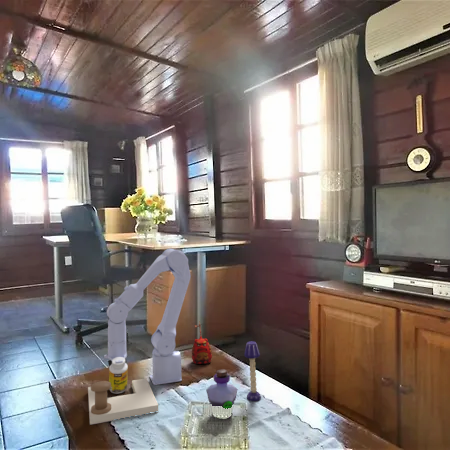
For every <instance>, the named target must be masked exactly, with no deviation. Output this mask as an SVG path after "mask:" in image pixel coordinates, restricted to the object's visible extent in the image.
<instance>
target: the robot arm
mask: <svg viewBox="0 0 450 450" xmlns="http://www.w3.org/2000/svg"><path fill="white" fill-rule="evenodd" d="M168 271H170V272H171V273H172V275H173V277H174V280H173V283H172V286H171V290H170V293H169V297H168V300H167V302H166V305H165V309H164V312H163V315H162V318H161V321H160V323H159V324H158V325H157V327H156V330H155V331H154V333H153V334H152V335H151V337H150V338H151V339H150V342H151V344H152V346H153V347H154V348H153V350H152V352H151V353H152V354H151V356H152V357H151V359H152V363H151V364H152V374H150V375H149V378H150V381H151V382H152V384H153V386H158V385H164V384H170V383H176V382H181V381H183V380H182V379H183V378H182V356H181V352H180V351H179V350H175V349H176V338H177V337H176V336H177V323H178V321H179V316H180V313H181V310H182V307H183V304H184V300H185V298H186V297H185V296H186V294H187V291H188V288H189V284H190V282H191V278H192V277H191V276H192V275H191V270H190V267H189V258H188V256H187V255H186V254H185V253H184V251H182V250H180V249H173V248H167V249H165V250H164V251H162V254H160V255H159V256H157V257H156V259H155V260H154V261H153V262H152V263H151V265H150V266H149V267H148V269H146V271H145V272H144V274H142V276H141V277H140V278H139V280H138V281H137V282H136V283H131V284H129V285H128V286H127V285H126V286H125V287H124V288H123V289H124V291H123V292H122V293H121V294H120V295H119V296H118V297H117V298H114V300H113V301H114V302H113V303H110V304H109V306H107V310H106V315H107V317H108V321H107V325H108V327H107V354H104V355H103V358H104V360H105V359H106V360H107V359H108V361H107V362H108V363H107V364H108V366H109V367H110V365H111V364H112V360H113V359H114V358H116V357H123V358H124V359H125V363H126V364H127V363H128V362H127V356H128V353H127V325H126V323H127V322H126V320H127V318H128V316H129V312H130V311H131V310H132V309H133V308H134V307H135V306H136V305H137V304H138V302H139V301H140V300H141V299H142V298H143V297H144V290H145V289H146V288H147V287H148V286H149V285H150V284H151V283H152V282H153V281H154V280H156V278H157V277H158V276H159V275H160V274H161V273H163V272H168ZM115 361H116V360H115ZM116 363H123V360H122V361H120V360H118V362H117V361H116Z"/></svg>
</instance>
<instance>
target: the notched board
mask: <svg viewBox="0 0 450 450" xmlns="http://www.w3.org/2000/svg"><path fill="white" fill-rule="evenodd" d="M110 388H111V383H110V382H109V380H99V381H95V382H94V383H93V382H92V384H91V385H90V386H88V387H87V393H88V412H89V413H88V415H89V426H90V425H96V424H101V423H107V422H112V420H113V421H115V420H114V419H118V420H121V419H120V418H124V419H126V418H125V417H129V418H131V417H130V416H134V417H136V416H135V415H140V416H143V415H142V414H145V415H147V414H146V413H150V412H155V411H158V412H159V403H158V401H157V399H156V397H155V395H154V392H153V389H152V388H151V386H150V383H149V381H148V379H147V378H141V379H134V380H131V389H132V391H133V393H129V394H124V395H123V394H122V395H117V396H112V397H111V396H110V397H108V390H109V389H110Z"/></svg>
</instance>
